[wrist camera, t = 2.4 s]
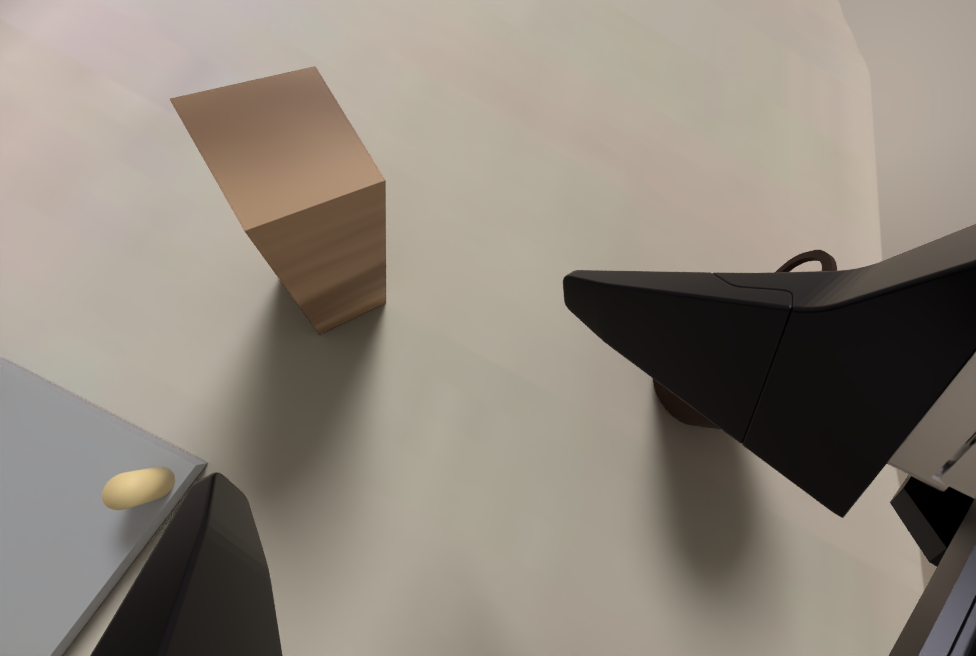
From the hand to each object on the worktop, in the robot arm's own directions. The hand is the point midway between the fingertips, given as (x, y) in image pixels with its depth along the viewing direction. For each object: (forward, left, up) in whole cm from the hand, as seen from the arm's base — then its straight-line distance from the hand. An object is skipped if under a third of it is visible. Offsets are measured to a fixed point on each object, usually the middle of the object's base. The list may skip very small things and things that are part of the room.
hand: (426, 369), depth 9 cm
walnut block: (+7, +4, -13) cm, 16 cm away
